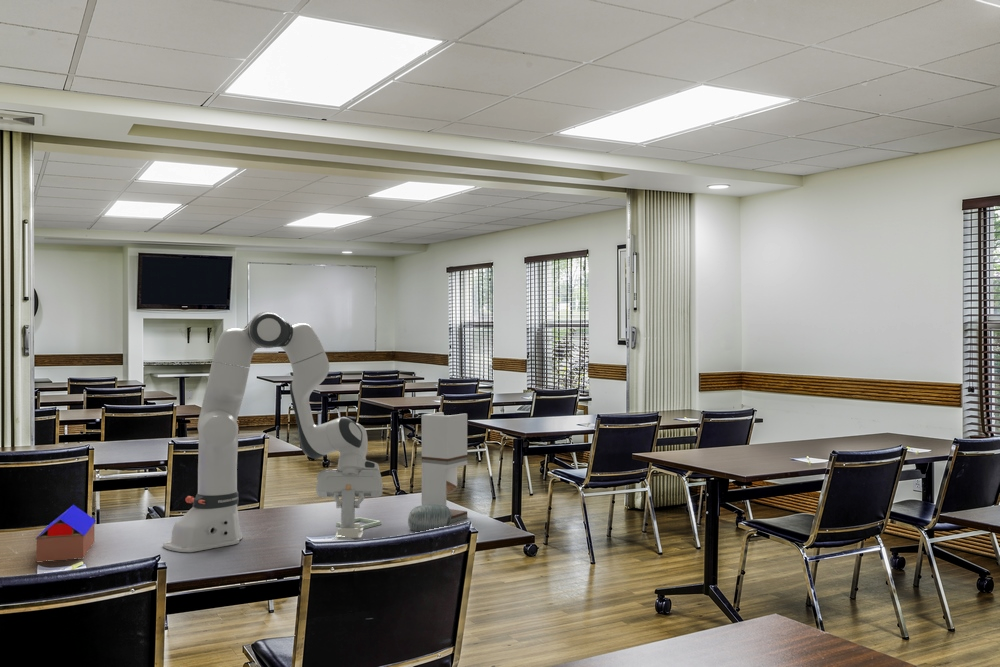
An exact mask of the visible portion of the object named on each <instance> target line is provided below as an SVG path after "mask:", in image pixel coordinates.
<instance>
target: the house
mask: <svg viewBox="0 0 1000 667" xmlns="http://www.w3.org/2000/svg"><path fill="white" fill-rule="evenodd" d="M95 524H96V519H95V518H93V516H91V515H89V514H88V513H86V512H85V511H83V510H82V509H81V508H79V507H77V506H76V505H75V504H72V505H71V506H70V507H69V508H67V509H66V510H65V511H64V512H63V513H61V514H60V515H59V516H58V517H56V518H55V519H54V520H53V521H51V522H50V523H49V524H48V525H47V526H46V527H45V528H44V529H43V530H42V532H40V534H38V536H36V538H35V540H36V553H35V554H36V561H46V560H47V561H48V560H64V559H74V558H83V557H84V556H85V554H86V553H87V551H88V550H89V548H90V547H91V545H92V544H93V542H94V543H95ZM93 545H94V544H93ZM93 545H92V546H93ZM91 548H92V547H91ZM91 548H90V549H91ZM89 551H90V550H89ZM89 551H88V552H89ZM87 554H88V553H87ZM87 554H86V555H87ZM85 557H86V556H85ZM85 557H84V558H85ZM36 561H35V562H36Z"/></svg>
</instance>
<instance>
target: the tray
mask: <svg viewBox="0 0 1000 667" xmlns="http://www.w3.org/2000/svg"><path fill="white" fill-rule="evenodd" d="M358 522H362V523H366V524H362V525H361V524H360V529H361V528H363V527H364V529H363V530H365V529H368V528H373V527H376V526H380V525H382V520H377V519H370V518H365V517H361V516H358V517H357V516H356V517H355V523H358ZM340 524H341V521H337V522H335V526H336V527H338V528H340Z"/></svg>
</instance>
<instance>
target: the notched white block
mask: <svg viewBox="0 0 1000 667" xmlns="http://www.w3.org/2000/svg"><path fill="white" fill-rule="evenodd" d="M467 465H468V413H459V414H451V415H449V414H448V415H447V414H446V415H445V414H444V412H443V411H440V412H433V413H426V414H425V413H424V414H421V505H429V504H437V505H445V506H447V495H449V494H452V493H453V492H455V491H456V490H457V489H458V467H463V466H467ZM449 510H450V513H451V520H450V524H451V523H455V522H458V521H460V520H459V519H461V520H464V519H467V518H468V511H467V510H461V509H454V508H449ZM463 518H464V519H463ZM457 520H458V521H457Z"/></svg>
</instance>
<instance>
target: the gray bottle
mask: <svg viewBox="0 0 1000 667" xmlns="http://www.w3.org/2000/svg"><path fill="white" fill-rule="evenodd" d="M340 498H341V500H340V501H341V508H340V511H341V512H340V514H341V515H340V522H341V528H354V526H355V523H356V522H355V518H356V517H355V515H356V513H355V512H356V511H355V509H356V508H354V504H355V501H356V497H355V489H351V484H346V489H342V497H340Z"/></svg>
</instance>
